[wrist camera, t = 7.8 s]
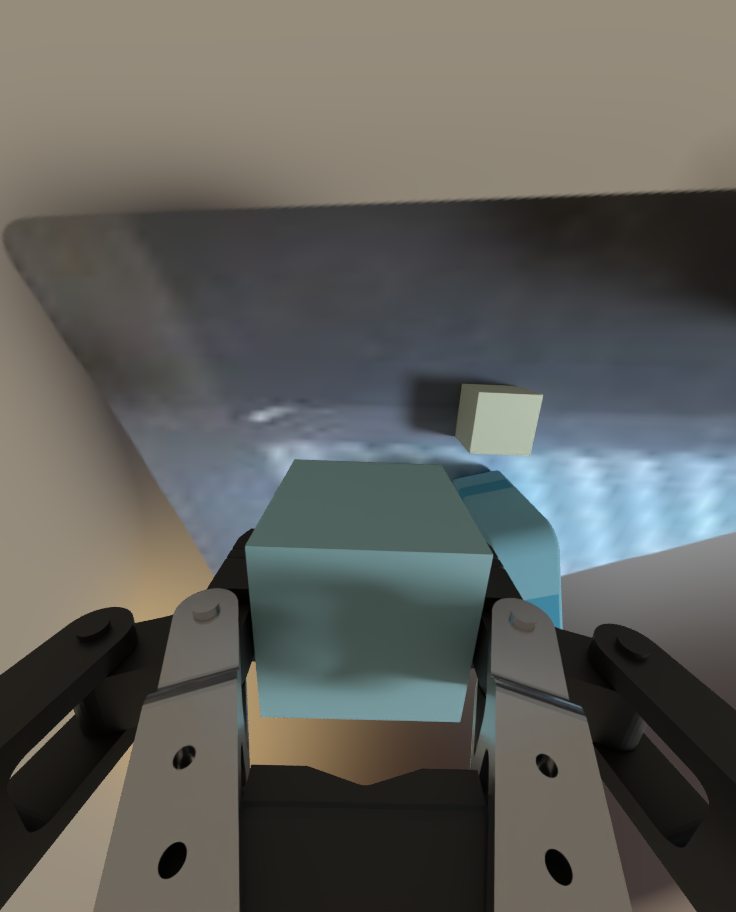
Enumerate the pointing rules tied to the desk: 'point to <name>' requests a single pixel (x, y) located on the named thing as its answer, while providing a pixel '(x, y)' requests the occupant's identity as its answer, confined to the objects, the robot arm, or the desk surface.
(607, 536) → the desk surface
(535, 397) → the sage block
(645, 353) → the desk surface
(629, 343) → the desk surface
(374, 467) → the teal block
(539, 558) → the data package
